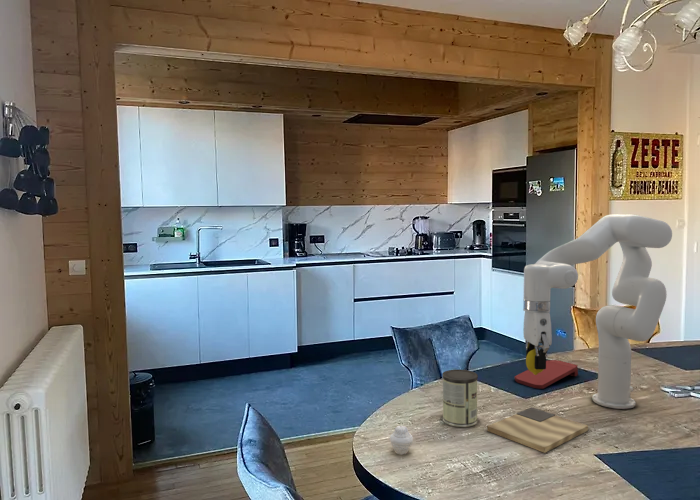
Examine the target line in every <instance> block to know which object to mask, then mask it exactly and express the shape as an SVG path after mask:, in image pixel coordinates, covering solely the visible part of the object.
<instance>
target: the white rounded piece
mask: <svg viewBox="0 0 700 500" xmlns="http://www.w3.org/2000/svg"><path fill="white" fill-rule="evenodd" d="M413 442H414V437H413V435H412V434H411V433H410V432H409V428H408V427H407V426H405V425H397V426H395V428H394V430H393V432H392V433H391V434H390V435H389V443H390V445H391V447H392V450H393V451H394V452H395V454H397V455H406V454H408V452H409V450H410V448H411V447H412V445H413Z"/></svg>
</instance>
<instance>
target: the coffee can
mask: <svg viewBox="0 0 700 500" xmlns="http://www.w3.org/2000/svg"><path fill="white" fill-rule="evenodd" d="M441 376H442V421H443V422H444V423H445V424H446V425H449V426H451V427H457V428H470V427H473V426H475V425H477V423H478V378H479V375H478V373H476V372H474V371H471V370H467V369H448V370H445V371H443V372H442V375H441Z"/></svg>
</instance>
